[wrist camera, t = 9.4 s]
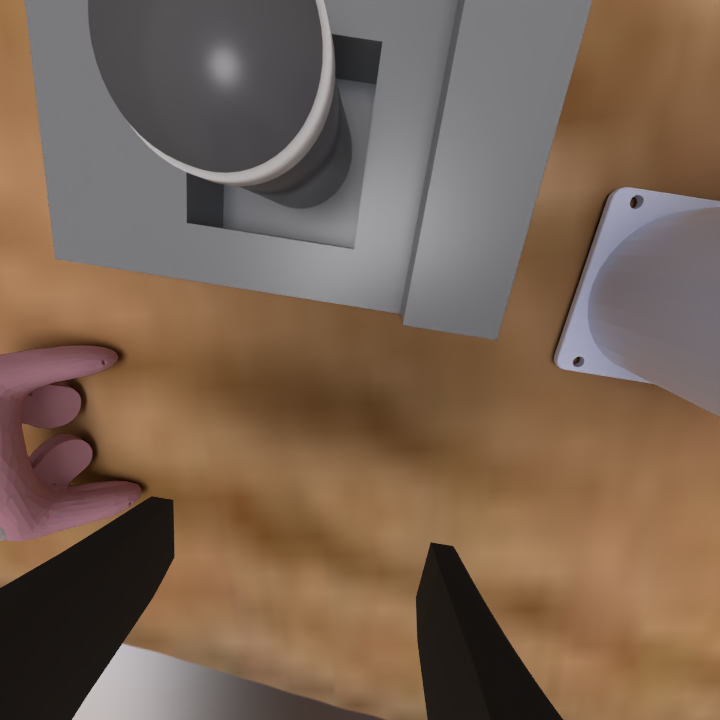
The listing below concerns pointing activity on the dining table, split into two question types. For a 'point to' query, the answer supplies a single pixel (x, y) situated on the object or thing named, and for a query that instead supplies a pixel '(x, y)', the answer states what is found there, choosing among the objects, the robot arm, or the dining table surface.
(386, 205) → the camera body
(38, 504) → the pink rounded piece
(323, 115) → the lens
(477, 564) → the dining table surface
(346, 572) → the dining table surface
